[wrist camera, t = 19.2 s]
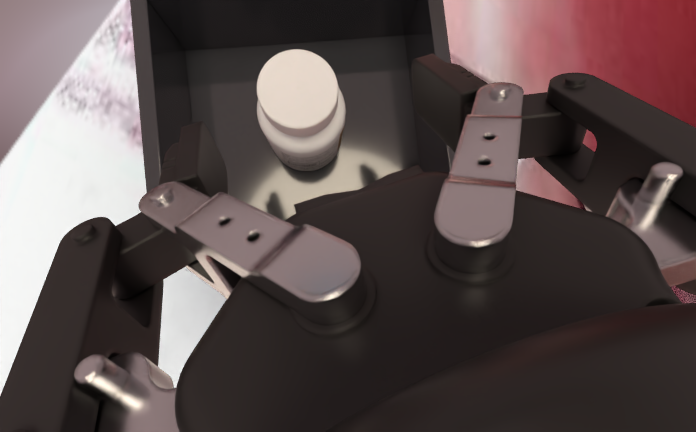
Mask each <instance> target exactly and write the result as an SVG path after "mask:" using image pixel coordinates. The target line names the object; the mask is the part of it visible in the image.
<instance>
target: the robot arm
mask: <svg viewBox="0 0 696 432" xmlns="http://www.w3.org/2000/svg"><path fill="white" fill-rule="evenodd" d="M411 69H412V88H413V102H414V107H415V110H416V112H417V114H418V115H419V116H420V117H421V118H422V119H423V120H424V121H425V122H426V123H427V124H428V125H429V126H430V127H431V128H432V129H433V130H434V132H435V133H436V134H437V135H438V136H439V137H440V138H441V139H442V140H443V141H444V142H445V143H446V144H447V145H448V146H449V147H450V148H451V149H452V150H453V151H454V152H455V155H454V159H453V162H452V165H451V169H450V172H439V171H434V172H423V170H422V169H421V168H420V167H419V165H416V166H413V167H410V168H406V169H403V170H400V171H397V172H394V173H391V174H388V175H386V176H384V177H382V178H380V179H378V180H377V181H375V182H373V183H371V184H369V185H367V186H365V187H363V188H361V189H359V190H353V191H346V192H339V193H332V194H326V195H322V196H319V197H316V198H313V199H310V200H307V201H303V202H300V203H297V204H294V208H295V211H296V214H294V215H292V216H291V217H289V218H288V219H286V220H285V221H284V220H282V219H280V218H277V217H275V216H273V215H271V214H269V213H267V212H265V211H263V210H260V209H258V208H256V207H254V206H252V205H250V204H248V203H246V202H243V201H241V200H239V199H237V198H235V197H233V196H231V195H229V194H228V181H227V169H226V166H225V163H224V160H223V158H222V156H221V154H220V152H219V150H218V148H217V146H216V144H215V142H214V140H213V138H212V136H211V134H210V132H209V130H208V128H207V127H206V125H205V123H204V122H203V121H200V122H197V123H193V124H190V125H187V126H183V127H181V133H180V139H179V142H178V143H175V144H172V145H171V147H170V148H169V149H168V150H167V152H166V153H165V156H164V161H163V162H164V163H163V166H162V170H161V175H160V180H159V185H158V186H157V187H155V188H153V189H152V190H150V191H149V192H147V193H146V194H145V195H144V196H143V197H142V199H141V200H140V202H139V209H140V211H141V213H139V214H138V215H136V216H134V217H132V218H130V219H128V220H127V221H125V222H123V223H121V224H119V225H117V226H115V225H114V224H113V223H112V222H111V221H110V220H109V219H108V218H105V217H97V218H93V219H90V220H87V221H85V222H83V223H81V224H79V225H77V226H76V227H74V228H73V229H72V230H70V231H69V232H68V233H67V234H66V235H65V236H64V237H63V239H62V240H61V242H60V244H59V247H58V249H57V252H56V254H55V257H54V259H53V262H52V265H51V267H50V270H49V272H48V275H47V277H46V280H45V283H44V285H43V288H42V290H41V293H40V296H39V298H38V301H37V303H36V306H35V308H34V311H33V314H32V316H31V319H30V321H29V324H28V326H27V329H26V332H25V334H24V337H23V339H22V342H21V344H20V347H19V350H18V352H17V355H16V357H15V360H14V362H13V365H12V368H11V370H10V373H9V375H8V378H7V381H6V383H5V386H4V388H3V391H2V393H1V396H0V432H696V303H682V302H681V301H680V299H679V298H678V297H677V296H676V295H675V293H674V292H673V291H672V289H671V288H670V287H672V286H676V287H678V288H680V289H681V290H683V291H686V292H688V293H691V294H694V295H696V128H695V127H693V126H691V125H689V124H687V123H685V122H683V121H681V120H679V119H677V118H675V117H673V116H671V115H670V114H668V113H666V112H664V111H662V110H660V109H658V108H656V107H654V106H652V105H650V104H648V103H646V102H644V101H642V100H640V99H638V98H636V97H634V96H632V95H630V94H628V93H626V92H624V91H623V90H621V89H619V88H617V87H615V86H613V85H611V84H609V83H607V82H605V81H603V80H601V79H599V78H597V77H595V76H592V75H589V74H584V73H566V74H561V75H558V76H555V77H554V78H552V79H551V80H550V83H549V87H548V92H545V93H537V94H529V95H523V93H524V91H523V89H522V88H521V87H520V86H518V85H516V84H512V83H504V82H499V83H491V84H487V83H486V82H484V81H483V80H481V79H480V78H478V77H477V76H474V74H472V73H471V72H468V70H466V69H465V68H463V67H462V66H460V65H456V64H452V63H446V62H445V61H443V60H442V59H440V58H439V57H437V56H436V55H434V54H429V55H426V56H422V57H419V58H415V59H413V61H412V65H411ZM587 129H588V130H589V131H591V132H592V133H593V134H594V136H595V137H596V140H597V148H596V151H595V152H593V151H592V150H591V149H589V148H588V147H587V146H585V145H584V144H583V143H582V142H583V139H584V136H585V133H586V130H587ZM533 157H534V159H535V160H536V161H537V162H538V163H539V164H540V165H541V166H542V167H543V168H544V169H546V170H547V171H548V172H549V173H550V174H551V175H552V176H553V177H554V178H555V179H557V180H558V181H559V182H560V183H561V184H562V185H563V186H564V187H565V188H566V189H568V190H569V191H570V192H571V193H572V194H573V195H574V196H575V197H576V198H578V199H579V200H580V201H581V202H582V203H583V204H584V205H585V206H586V207H587V208H589V209H590V210H591V211H592V212H590V211H587V210H583V209H580V208H576V207H573V206H569V205H566V204H562V203H559V202H555V201H552V200H548V199H545V198H541V197H538V196H534V195H531V194H527V193H524V192H520V191H517V190H516V184H515V183H516V173H517V163H518V159H523V158H533ZM184 267H186V268H187V269H188V270H189V271H191V272H192V273H193V274H195V275H196V276H198V277H199V278H200V279H202V280H203V281H204V282H206V283H207V284H209V285H210V286H211V287H213V288H214V289H215V290H217V291H218V292H219V293H221V294H222V295H223V296H224V297H225V298H226V299H227V300H226V302H225V303H224V305H223V306H222V308H221V309H220V311H219V312H218V314H217V315H216V317H215V318H214V320H213V321H212V323H211V324H210V326H209V327H208V329H207V330H206V332H205V333H204V335H203V336H202V338H201V340H200V341H199V343H198V344H197V346H196V347H195V349H194V350H193V352H192V353H191V355H190V356H189V358H188V360H187V362H186V363H185V365H184V368H183V370H182V372H181V374H180V377H179V381H178V384H177V388H174V385H173V381H172V379H171V377H170V376H169V375H168V374H167V373H165V372H164V371H163V370H162V369H160V368H159V367H158V358H159V343H160V328H161V313H162V298H163V279H165V278H167V277H168V276H170V275H172V274H173V273H175V272H177V271H179V270H180V269H182V268H184Z"/></svg>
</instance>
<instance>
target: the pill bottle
mask: <svg viewBox="0 0 696 432" xmlns="http://www.w3.org/2000/svg"><path fill="white" fill-rule="evenodd" d="M257 96H258V102H257V117H258V121H259V125H260V127H261V129H262V131H263V133H264V135H265V136H266V138H267V140H268V141H269V143H270V145H271V147H272V149H273V150H274V152H275V154H276V155H277V157H278V158H279V159H280V160H281V161H282V162H283V163H284V164H285V165H287V166H289V167H290V168H293V169H295V170H299V171H314V170H318V169H320V168H322V167H324V166H326V165H327V164H328V163H330V162H331V161H332V160H333V158H334V157H335V156H336V154H337V152H338V150H339V148H340V144H341V139H342V134H343V129H344V124H345V115H346V108H345V102H344V98H343V95H342V93H341V91H340V89H339V87H338V83H337V79H336V76H335V73H334V71H333V70H332V68H331V67H330V66H329V64H328V63H327V62H326V61H325V60H324V59H323V58H321V57H320V56H318V55H316V54H315V53H313V52H310V51H306V50H300V49H292V50H287V51H283V52H281V53H278V54H276V55H275V56H273V57H272V58H271V59H270V60H268V61H267V63H266V64H265V65H264V67H263V68H262V70H261V72H260V74H259V77H258V81H257Z"/></svg>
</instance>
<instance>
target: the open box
mask: <svg viewBox="0 0 696 432" xmlns="http://www.w3.org/2000/svg"><path fill="white" fill-rule="evenodd" d="M130 4H131V16H132V27H133V39H134V50H135V62H136V74H137V85H138V97H139V108H140V120H141V131H142V143H143V154H144V166H145V178H146V189H147V192H149V191H150V190H152V189H153V188H155V187H157V186H158V185H159V180H160V175H161V170H162V166H163V163H164V162H163V161H164V156H165V153H166V152H167V150H168V149H169V148H170V147H171V145H172V144H175V143H178V142H179V139H180V133H181V127H183V126H187V125H190V124H193V123H197V122H200V121H203V122H204V123H205V125H206V127H207V128H208V130H209V132H210V134H211V136H212V138H213V140H214V142H215V144H216V146H217V148H218V150H219V152H220V154H221V156H222V158H223V160H224V163H225V166H226V169H227V181H228V194H229V195H231V196H233V197H235V198H237V199H239V200H241V201H243V202H246V203H248V204H250V205H252V206H254V207H256V208H258V209H260V210H263V211H265V212H267V213H269V214H271V215H273V216H275V217H277V218H280V219H282V220H284V221H285V220H286V219H288V218H289V217H291V216H292V215H294V214H296V211H295V208H294V204H297V203H300V202H303V201H307V200H310V199H313V198H316V197H319V196H322V195H326V194H332V193H339V192H346V191H353V190H359V189H361V188H363V187H365V186H367V185H369V184H371V183H373V182H375V181H377V180H378V179H380V178H382V177H384V176H386V175H388V174H391V173H394V172H397V171H400V170H403V169H406V168H410V167H413V166H416V165H419V167H420V168H421V169H422V170H423V172H434V171H439V172H450V169H451V165H452V162H453V159H454V155H455V152H454V151H453V150H452V149H451V148H450V147H449V146H448V145H447V144H446V143H445V142H444V141H443V140H442V139H441V138H440V137H439V136H438V135H437V134H436V133H435V132H434V130H433V129H432V128H431V127H430V126H429V125H428V124H427V123H426V122H425V121H424V120H423V119H422V118H421V117H420V116H419V115H418V114H417V112H416V110H415V107H414V102H413V88H412V69H411V65H412V61H413V59H415V58H419V57H422V56H426V55H429V54H434V55H436V56H437V57H439V58H440V59H442V60H443V61H445V62H446V63H451V60H450V52H449V44H448V37H447V29H446V21H445V13H444V5H443V0H130ZM292 49H300V50H306V51H310V52H313V53H315V54H316V55H318V56H320V57H321V58H323V59H324V60H325V61H326V62H327V63H328V64H329V66H330V67H331V68H332V70H333V71H334V73H335V76H336V79H337V83H338V87H339V89H340V91H341V93H342V95H343V98H344V102H345V108H346V115H345V124H344V129H343V134H342V139H341V144H340V148H339V150H338V152H337V154H336V156H335V157H334V158H333V160H332V161H331V162H330V163H328V164H327V165H326V166H324V167H322V168H320V169H318V170H314V171H299V170H295V169H293V168H290V167H289V166H287V165H285V164H284V163H283V162H282V161H281V160H280V159H279V158H278V157H277V155H276V154H275V152H274V150H273V149H272V147H271V145H270V143H269V141H268V140H267V138H266V136H265V135H264V133H263V131H262V129H261V127H260V125H259V121H258V117H257V102H258V96H257V81H258V77H259V74H260V72H261V70H262V68H263V67H264V65H265V64H266V63H267V61H268V60H270V59H271V58H272V57H273V56H275V55H276V54H278V53H281V52H283V51H287V50H292Z"/></svg>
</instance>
